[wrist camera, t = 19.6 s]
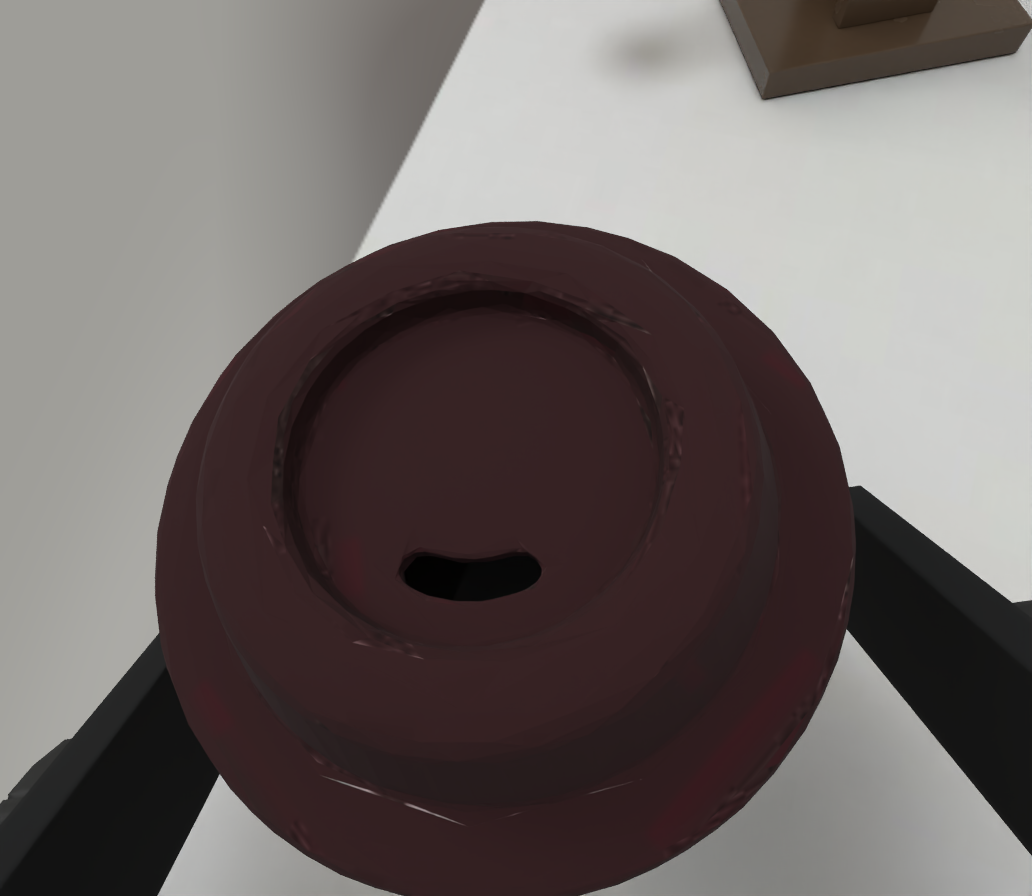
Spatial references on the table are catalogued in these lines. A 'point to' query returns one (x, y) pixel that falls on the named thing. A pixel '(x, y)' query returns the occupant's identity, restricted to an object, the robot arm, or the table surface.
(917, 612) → the robot arm
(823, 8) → the brown lever base
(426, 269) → the coffee cup
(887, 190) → the table surface
